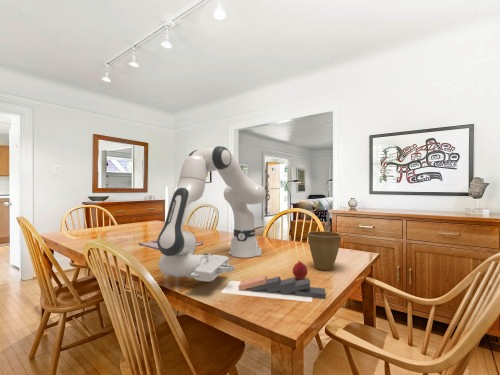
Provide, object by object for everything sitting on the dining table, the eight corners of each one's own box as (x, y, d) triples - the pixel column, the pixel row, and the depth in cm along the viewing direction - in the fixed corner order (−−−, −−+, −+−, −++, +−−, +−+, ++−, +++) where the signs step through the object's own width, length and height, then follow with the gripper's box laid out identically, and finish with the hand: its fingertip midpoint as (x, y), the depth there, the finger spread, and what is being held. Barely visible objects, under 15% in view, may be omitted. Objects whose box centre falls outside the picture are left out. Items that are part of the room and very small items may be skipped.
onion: (305, 277, 111) (305, 258, 111) (308, 282, 105) (308, 262, 105) (291, 277, 111) (291, 258, 111) (294, 282, 105) (294, 262, 105)
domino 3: (282, 284, 98) (308, 278, 96) (283, 288, 98) (310, 282, 96) (280, 290, 93) (308, 283, 91) (282, 294, 93) (309, 287, 91)
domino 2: (268, 283, 99) (294, 277, 97) (270, 287, 99) (295, 281, 97) (266, 288, 95) (293, 282, 92) (267, 293, 94) (294, 286, 92)
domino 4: (296, 285, 97) (324, 288, 95) (296, 290, 97) (324, 292, 95) (295, 291, 92) (325, 294, 90) (295, 295, 92) (325, 298, 90)
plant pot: (343, 274, 114) (343, 237, 114) (307, 272, 117) (307, 236, 117) (338, 264, 129) (338, 231, 129) (307, 262, 132) (307, 230, 132)
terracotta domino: (241, 281, 102) (266, 275, 100) (243, 285, 102) (267, 279, 100) (238, 286, 97) (263, 279, 95) (239, 290, 97) (265, 284, 95)
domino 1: (254, 282, 101) (279, 276, 98) (256, 286, 101) (281, 280, 98) (251, 287, 96) (277, 281, 94) (253, 291, 96) (279, 285, 93)
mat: (230, 281, 107) (230, 280, 107) (312, 288, 99) (312, 287, 99) (220, 293, 95) (220, 292, 95) (312, 302, 87) (312, 301, 87)
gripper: (186, 266, 93) (224, 269, 90) (208, 252, 113) (240, 253, 110) (186, 284, 93) (224, 287, 90) (208, 266, 113) (240, 269, 110)
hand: (233, 269), depth 100 cm, fingers closed
